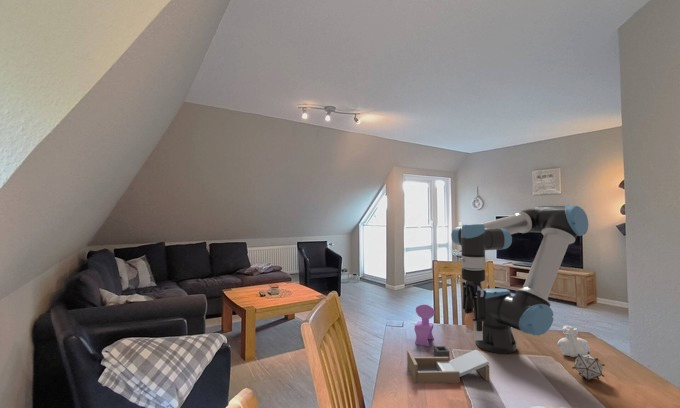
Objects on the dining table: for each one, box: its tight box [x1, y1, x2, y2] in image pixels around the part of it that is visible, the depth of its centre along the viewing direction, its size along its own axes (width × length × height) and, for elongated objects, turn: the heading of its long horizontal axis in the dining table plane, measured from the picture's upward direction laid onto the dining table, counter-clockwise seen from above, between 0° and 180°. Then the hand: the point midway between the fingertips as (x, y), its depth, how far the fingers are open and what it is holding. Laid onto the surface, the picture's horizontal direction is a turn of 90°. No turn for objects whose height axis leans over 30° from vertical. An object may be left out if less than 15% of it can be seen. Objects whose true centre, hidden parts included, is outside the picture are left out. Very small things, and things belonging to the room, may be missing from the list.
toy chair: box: [414, 304, 436, 347], centre depth 136 cm, size 8×9×15 cm
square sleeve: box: [433, 345, 450, 358], centre depth 123 cm, size 5×5×2 cm
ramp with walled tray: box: [406, 349, 491, 384], centre depth 109 cm, size 25×11×6 cm, turn 90°
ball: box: [463, 313, 475, 331], centre depth 109 cm, size 6×6×6 cm
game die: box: [571, 351, 606, 383], centre depth 105 cm, size 9×8×10 cm
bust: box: [556, 324, 591, 358], centre depth 124 cm, size 12×8×11 cm
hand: (473, 335), depth 109 cm, fingers closed on ball, 6 cm apart
